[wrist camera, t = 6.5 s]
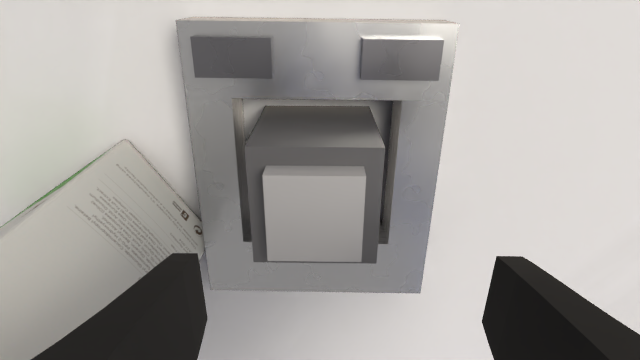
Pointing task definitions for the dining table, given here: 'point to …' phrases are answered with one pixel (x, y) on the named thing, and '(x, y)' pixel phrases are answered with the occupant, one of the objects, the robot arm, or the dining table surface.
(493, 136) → the dining table surface
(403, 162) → the socket plate
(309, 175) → the plug
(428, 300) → the dining table surface
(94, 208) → the skincare box
